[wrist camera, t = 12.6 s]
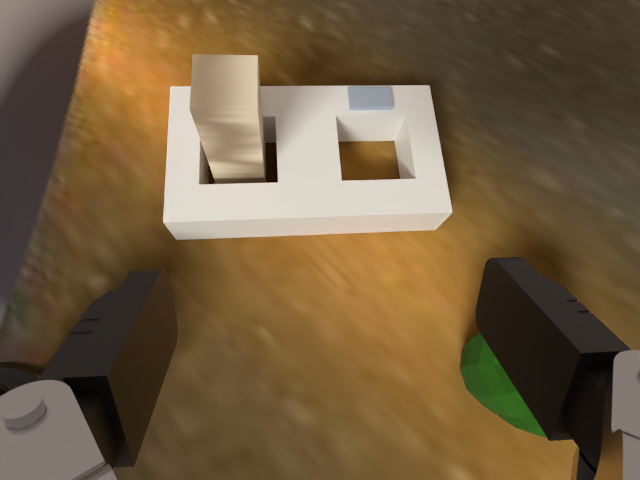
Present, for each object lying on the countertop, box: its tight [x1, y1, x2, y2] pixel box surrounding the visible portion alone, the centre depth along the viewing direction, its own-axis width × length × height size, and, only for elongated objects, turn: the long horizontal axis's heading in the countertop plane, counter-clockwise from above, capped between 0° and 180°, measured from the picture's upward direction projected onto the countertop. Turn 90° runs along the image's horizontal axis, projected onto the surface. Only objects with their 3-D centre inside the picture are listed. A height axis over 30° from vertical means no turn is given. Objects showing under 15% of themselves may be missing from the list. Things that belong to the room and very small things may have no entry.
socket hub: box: [163, 85, 452, 240], centre depth 36 cm, size 22×12×4 cm, turn 93°
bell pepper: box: [460, 332, 561, 441], centre depth 29 cm, size 8×8×10 cm
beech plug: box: [189, 54, 266, 184], centre depth 31 cm, size 4×4×12 cm
